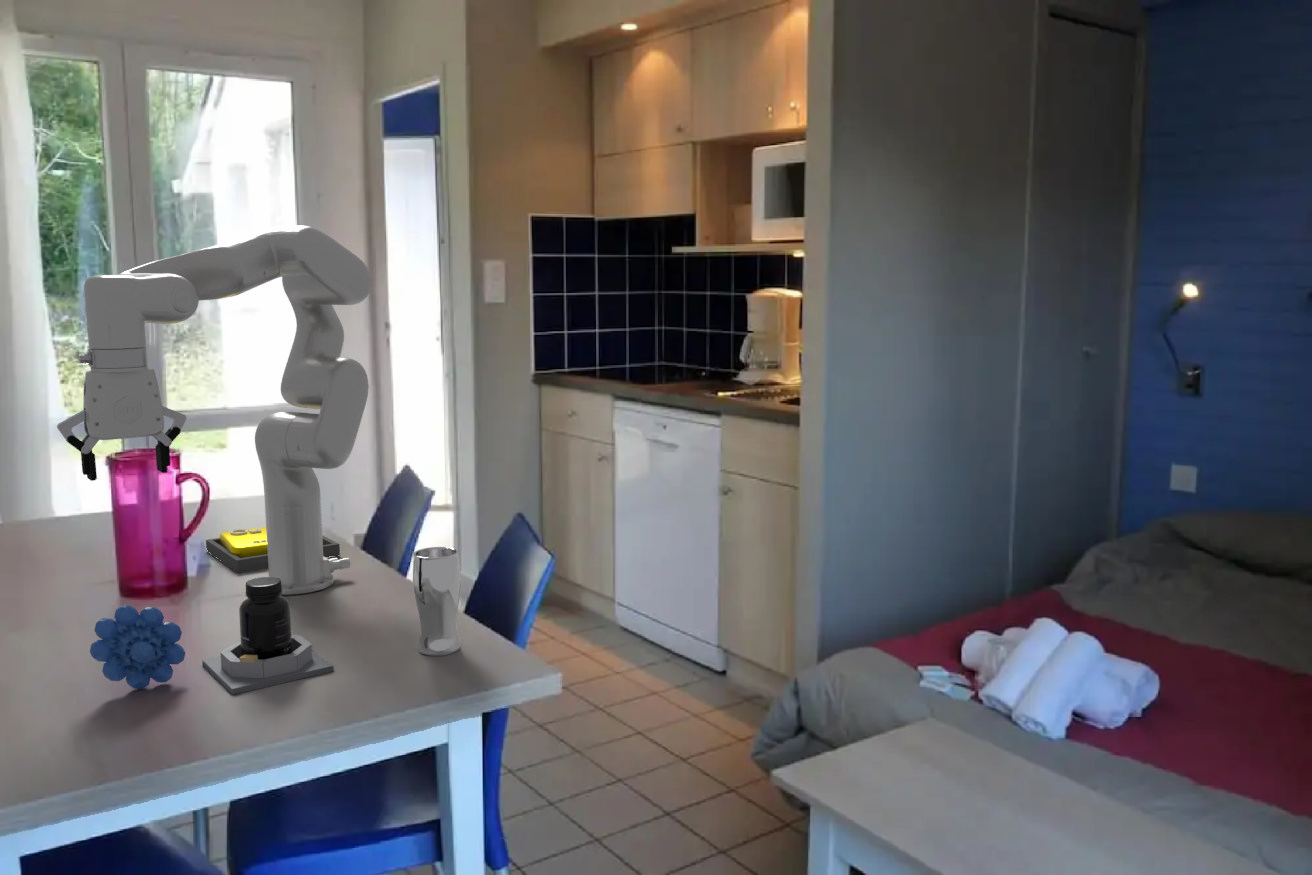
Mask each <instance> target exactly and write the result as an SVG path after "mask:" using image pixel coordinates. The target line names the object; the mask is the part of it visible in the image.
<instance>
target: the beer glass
mask: <svg viewBox="0 0 1312 875" xmlns="http://www.w3.org/2000/svg"><path fill="white" fill-rule="evenodd" d="M412 565H413V567H412V587H413V593H414V594H413V595H414V600H415V604H416V605H415V606H416V608H417V609H416V610H417V614H418V619H419V624H420V636H419V643H418V652H419V653H420V654H422V655H425V656H433V657H434V656H435V657H436V656H446V655H447V656H448V655H450V654H451V655H452V654H454V653H456V652H457V651H459V649H460V648H461V647H460V641H459V636H458V632H457V631H458V630H457V617H458V609H459V604H460V596H461V587H462V586H461V585H462V584H461V581H462V580H461V566H460V557H459V550H458V549H456V548H453V547H448V546H430V547H425V548H421V549H417V550H415V551H414V552H413V564H412Z"/></svg>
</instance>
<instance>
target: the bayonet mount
mask: <svg viewBox="0 0 1312 875" xmlns="http://www.w3.org/2000/svg"><path fill="white" fill-rule="evenodd" d="M291 645H292V653H291V654H288V655H283V656H279V657H274V658H269V659H265V660H259V659H258V655H243V656H242V655H241V639H239V640H237V641H235V642H233V643H232V644H230V645H228V647H226V648H224V649H223V650H221V651H220V655H219V656H215V657H209V658H205V659H202V662H201V663H202V666H203V667H204V668H205V669H206V670H207V671H208V672H209V673H210V674H211V675H212V676H213V677H214V678H215V679H216V680H217V681H218V682H219V683H221V685H222V686H223V687H224V688H225V689H226V690H227V691H228V692H229V693H230V694H232V696H233V695H238V694H242V693H246V692H251V691H254V690H259V689H262V688H263V689H264V688H266V687H271V686H277V685H280V684H285V683H287V682H292V681H297V680H301V679H305V678H311V677H315V676H318V675H323V674H327V673H331V672H334V671H335V670H334V665H333V664H332V663H331V662H329V661H328V660H326V659H325V658H324V657H323V656H321V655H320V654H318V653H317V652H316V651H314V650H313V648H312V647H313V646H312V645H313V644H312V643H311V642H310V641H309V640H307V639H306V638H305V637H303V636H302V635H299V634H291Z"/></svg>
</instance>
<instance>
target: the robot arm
mask: <svg viewBox="0 0 1312 875" xmlns="http://www.w3.org/2000/svg"><path fill="white" fill-rule="evenodd" d="M370 272H371V271H370V270H369V268H368V266H367V265H366V263H365V262H364V261H363V260H362V259H360V258H359V257H358V256H357V255H356V254H355V253H354V252H352V251H350V250H349V249H348V248H346V247H345V246H344V245H342V244H340V243H339V242H338V241H337V240H335V239H334V238H332V237H331V236H330V235H328V234H326V233H325V232H323V231H321V230H319V229H317V228H315V227H313V226H309V225H308V226H307V225H286V226H285V225H284V226H283V225H281V226H280V225H279V226H278V225H277V226H276V225H275V226H267V227H263V228H262V227H261V228H260V229H256V230H253V231H250V232H247V233H246V234H245V233H244V234H243V235H240V236H238V237H235V238H233V239H230V240H227V241H226V240H225V241H224V242H221V243H218V244H216V245H213V246H209V247H205V248H200V249H198V250H197V249H196V250H193V251H189V252H187V253H183V254H178V255H174V256H171V257H170V256H169V257H166V258H161V259H158V260H154V261H151V262H148V263H145V264H142V265H139V266H136V267H134V268H131V269H128V270H126V271H123V272H120V273H119V274H99V275H92V276H89V277H88V278H87V279H86V280H85V282H84V286H83V287H84V288H83V292H84V303H85V315H86V328H87V330H86V331H87V339H88V349H87V351H86V352H84V353H78V355H77V356H78V359H77V360H78V363H79V364H85V365H88V367H90V370H89V369H88V370H86V371H85V377H84V384H83V408H82V409H83V410H81V411H78V412H77V413H75V414H74V415H71V416H70V417H68V418H66V419H65V420H63V421H61V422H59V423H58V424H57V425H56V428H57V430H58V431H59V433H60V434H61V435H62V437H63V438H64V439H65V441H66V442H67V443H68V444H69V445H71V446H72V447H73V448H75V449H76V450H78V451H79V452H80V459H81V471H82V474H83V475H84V476H85V475H86V477H87V479H88V480H90V481H91V482H92V481H93V482H94V481H96V480H98V476H97V474H98V473H97V464H96V455H95V453H94V452H93V448H95V446H96V444H98V442H99V441H112V440H121V439H125V440H126V439H135V438H144V437H145V438H146V437H153V438H154V439H155V440H156V441H157V444H156V445H155V459H156V469H157V471H158V472H161V473H163V474H167V473H168V467H170V466H171V456H170V455H171V454H170V447H171V445H173V442H174V441H175V440H176V438H177V437H179V435H180V434H181V432H182V431H181V430H182V429H183V427H184V424H185V422H186V420H187V415H186V414H184V413H181V412H178V411H175V410H173V409H171V408H168V407H166V406H163V404H162V399H161V391H160V387H159V381H158V378H157V374H156V370H155V369H154V368H152V367H149V366H148V364H149V363H148V353H147V352H148V351H147V339H146V337H147V336H146V325H145V324H157V325H158V324H165V325H169V324H179V323H181V322H185V321H186V320H188V319H190V318H191V317H192V316H193V315H194V314H195V313H196V312H197V310H198V306H199V302H200V301H211V300H222V299H226V298H232V297H236V296H239V295H241V294H243V293H245V292H248V291H251V290H253V289H255V288H257V287H259V286H261V285H263V284H266V283H269V282H270V281H273V280H275V279H278V278H279V279H280V278H281V282H282V287H283V291H284V293H285V295H286V298H288V300H289V302H290V305H291V307H292V309H293V312H294V317H295V320H296V321H295V322H296V328H295V329H296V330H295V336H294V338H293V342H292V346H291V348H290V352H289V354H288V358H287V362H286V364H285V368H284V371H283V374H282V378H281V383H280V394H281V396H282V399H283V400H284V402H286V403H287V404H288V405H290V406H293V407H297V408H303V409H309V410H310V409H313V410H319V413H309V412H301V411H299V412H298V411H279V412H273V413H271V414H269V415H267V416H265V417H263V419H261V420H260V422H259V423H258V425H257V427H256V428H255V432H254V434H255V435H254V444H255V451H256V455H257V457H258V458H257V459H258V461H259V465H260V469H261V474H262V483H263V494H264V496H263V497H264V512H265V514H264V515H265V527H266V533H267V550H268V568H267V569H268V575H267V577H275V578H279V579H280V580H281V586H282V594H281V596H284V595H289V596H290V595H302V594H308V593H314V592H318V591H322V590H324V589H327V588H328V587H330V586H331V585H333V584H334V575H333V573H334V572H335V571H337V570H340V571H341V570H345V569H350V568H351V560H350V558H349V557H345V558H344V557H343V558H340V559H338V557H332V558H325V557H324V556H323V539H322V535H323V524H322V522H323V521H322V503H321V502H322V501H321V500H322V497H321V486H320V483H319V480H318V477H317V475H316V473H315V470H314V469H322V470H332V469H337V468H340V467H341V466H342V465H344V464H345V463H346V462H347V460H348V459H349V457H350V456H351V453H352V451H353V448H354V445H355V444H356V440H357V436H358V432H359V429H360V425H361V422H362V419H363V415H364V412H365V408H366V405H367V401H368V398H369V397H368V396H369V387H370V386H369V378H368V375H367V372H366V370H365V368H364V367H363V365H362V364H361V363H360V362H359V361H357V360H355V359H353V358H349V357H342V356H341V354H342V351H343V346H344V341H345V331H344V327H343V323H342V322H341V320H340V318H339V315H338V313H337V312H336V310H335V308H334V305H335V306H352V305H358V304H360V303H362V302H364V300H365V299H366V298H368V296H369V294H370V292H371V289H372V275H371V273H370ZM164 416H165V417H168V418H170V419H172V425H171V426H170V428H168V429H167V430H166V431H165V432H164V430H165V417H164ZM81 423H83V428H84V431H85V434H86V435H85V436H84V437H83V439H82V440H80V439H79V438H78V437H77V436H76V435H75V434H74V432H73V431H72V429H73V428H75V427H77V426H78V425H79V424H81Z"/></svg>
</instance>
